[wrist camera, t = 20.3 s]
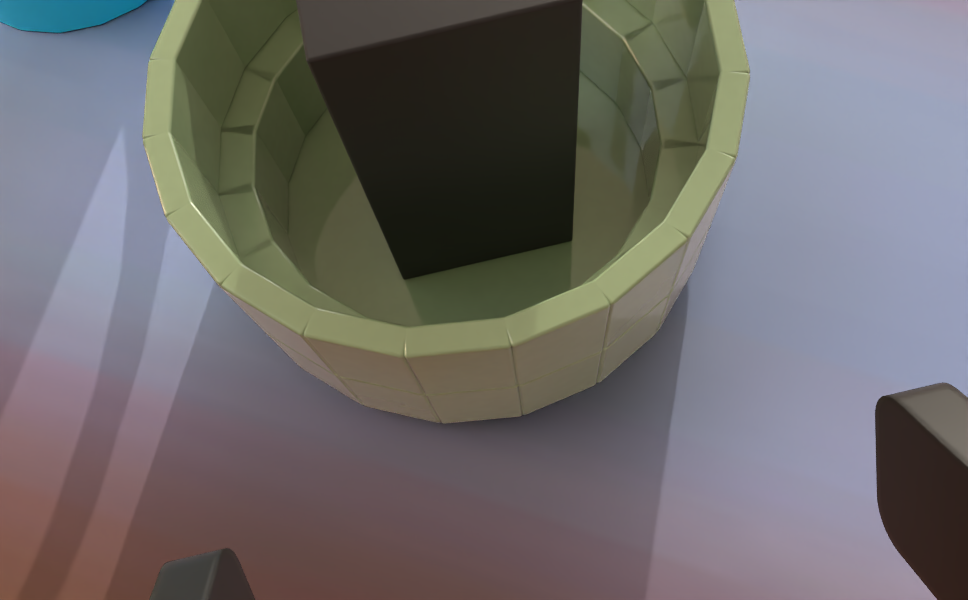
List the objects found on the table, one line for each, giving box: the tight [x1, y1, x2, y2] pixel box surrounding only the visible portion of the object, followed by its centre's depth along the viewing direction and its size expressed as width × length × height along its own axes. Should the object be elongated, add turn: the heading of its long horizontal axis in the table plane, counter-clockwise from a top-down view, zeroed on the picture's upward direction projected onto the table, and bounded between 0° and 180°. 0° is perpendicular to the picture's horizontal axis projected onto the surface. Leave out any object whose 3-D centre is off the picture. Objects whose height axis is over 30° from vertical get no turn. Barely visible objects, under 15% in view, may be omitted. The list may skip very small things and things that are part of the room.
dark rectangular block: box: [296, 0, 583, 279], centre depth 18 cm, size 4×4×9 cm
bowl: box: [142, 0, 750, 424], centre depth 20 cm, size 12×12×6 cm
